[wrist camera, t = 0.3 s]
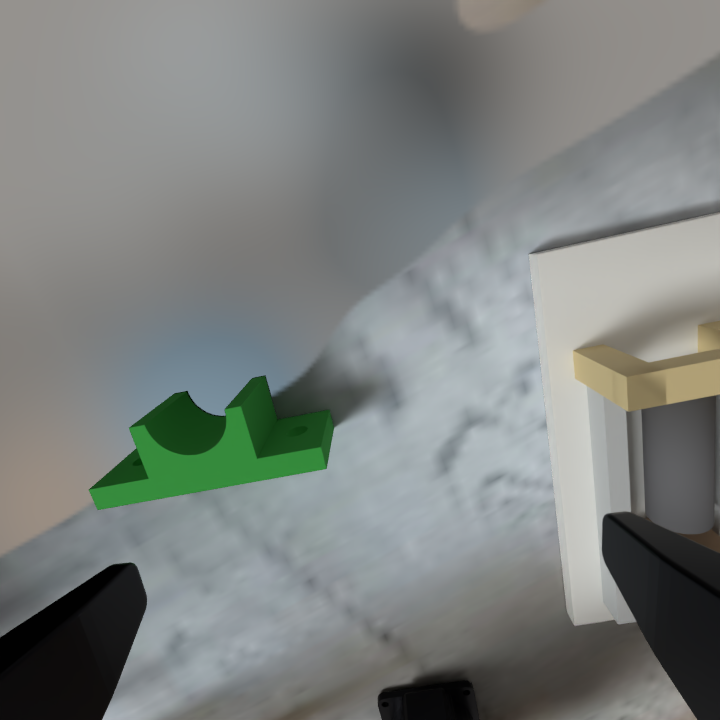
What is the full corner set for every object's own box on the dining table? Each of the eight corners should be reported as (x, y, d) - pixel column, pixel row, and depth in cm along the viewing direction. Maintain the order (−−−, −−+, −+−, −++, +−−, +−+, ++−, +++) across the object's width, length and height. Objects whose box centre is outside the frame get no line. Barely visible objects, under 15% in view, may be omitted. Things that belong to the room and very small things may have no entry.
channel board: (730, 586, 25) (825, 673, 20) (566, 611, 26) (616, 702, 20) (741, 207, 19) (878, 192, 14) (528, 254, 20) (585, 256, 15)
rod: (678, 493, 22) (729, 524, 20) (632, 506, 22) (678, 540, 19) (676, 375, 20) (733, 392, 18) (626, 388, 20) (676, 408, 18)
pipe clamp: (318, 363, 22) (307, 393, 17) (334, 426, 23) (327, 468, 18) (123, 403, 22) (64, 441, 18) (146, 462, 23) (95, 512, 19)
